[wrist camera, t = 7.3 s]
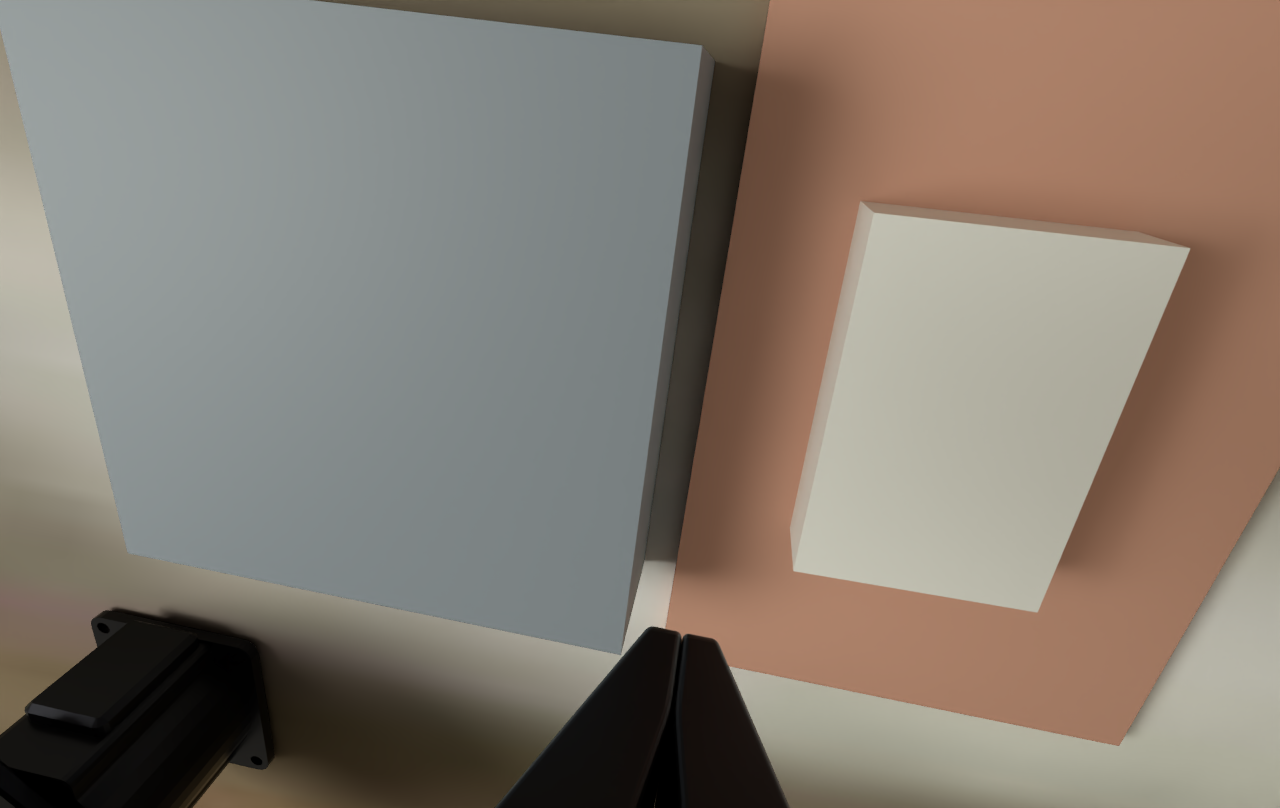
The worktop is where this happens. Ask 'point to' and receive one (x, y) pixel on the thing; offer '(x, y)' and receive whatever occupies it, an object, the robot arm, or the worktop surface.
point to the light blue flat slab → (372, 291)
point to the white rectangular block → (971, 397)
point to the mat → (1017, 188)
